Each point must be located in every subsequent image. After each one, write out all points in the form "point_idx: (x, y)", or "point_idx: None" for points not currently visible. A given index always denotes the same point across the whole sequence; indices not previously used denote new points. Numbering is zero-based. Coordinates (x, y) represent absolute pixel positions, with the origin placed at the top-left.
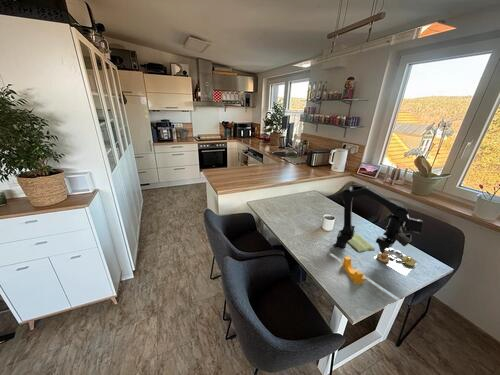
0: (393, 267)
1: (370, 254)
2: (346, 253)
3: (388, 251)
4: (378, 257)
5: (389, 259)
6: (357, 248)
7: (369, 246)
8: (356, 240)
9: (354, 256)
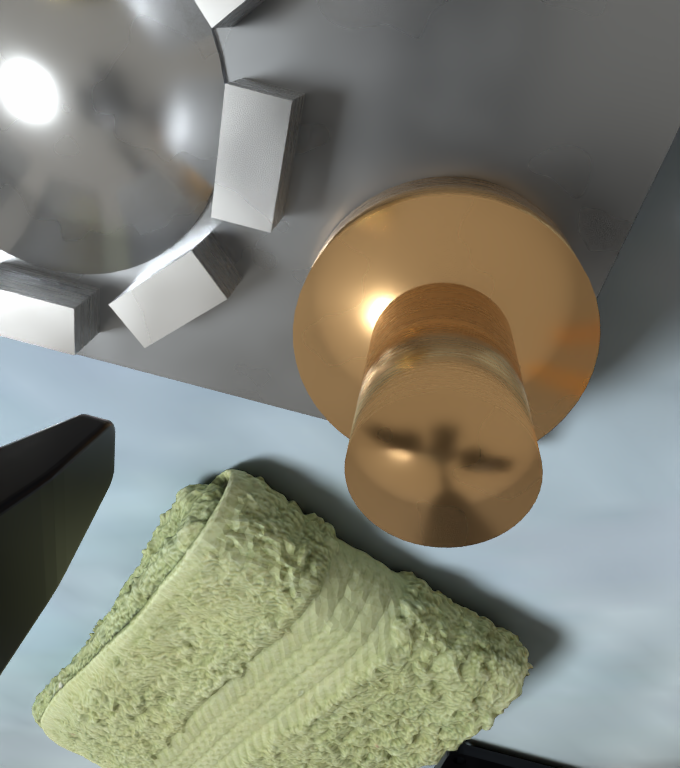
0: (650, 12)
1: None
2: (628, 739)
3: (14, 255)
4: (538, 434)
5: (445, 202)
6: (473, 720)
7: (249, 601)
8: (241, 740)
9: (636, 663)
